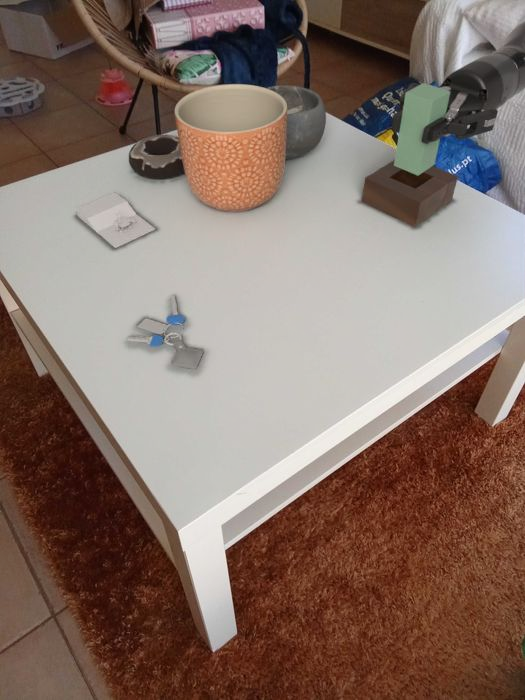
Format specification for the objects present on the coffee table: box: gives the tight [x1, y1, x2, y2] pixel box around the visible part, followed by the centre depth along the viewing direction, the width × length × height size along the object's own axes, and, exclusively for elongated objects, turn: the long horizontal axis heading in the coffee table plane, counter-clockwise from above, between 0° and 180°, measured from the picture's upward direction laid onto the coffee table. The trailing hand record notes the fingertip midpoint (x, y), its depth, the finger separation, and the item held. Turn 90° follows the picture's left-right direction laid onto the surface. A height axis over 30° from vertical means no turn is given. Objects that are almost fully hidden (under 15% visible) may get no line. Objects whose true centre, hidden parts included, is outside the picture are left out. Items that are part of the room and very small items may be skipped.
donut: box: [128, 134, 185, 180], centre depth 102 cm, size 12×12×4 cm
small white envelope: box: [75, 191, 156, 249], centre depth 90 cm, size 7×12×2 cm, turn 41°
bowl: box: [265, 84, 327, 160], centre depth 102 cm, size 15×15×10 cm
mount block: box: [361, 159, 459, 228], centre depth 92 cm, size 11×11×4 cm
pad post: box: [394, 82, 450, 175], centre depth 74 cm, size 4×4×10 cm
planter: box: [174, 83, 287, 213], centre depth 90 cm, size 17×17×15 cm
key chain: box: [126, 294, 204, 370], centre depth 72 cm, size 14×8×1 cm, turn 24°
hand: (410, 130), depth 72 cm, fingers closed on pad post, 4 cm apart
